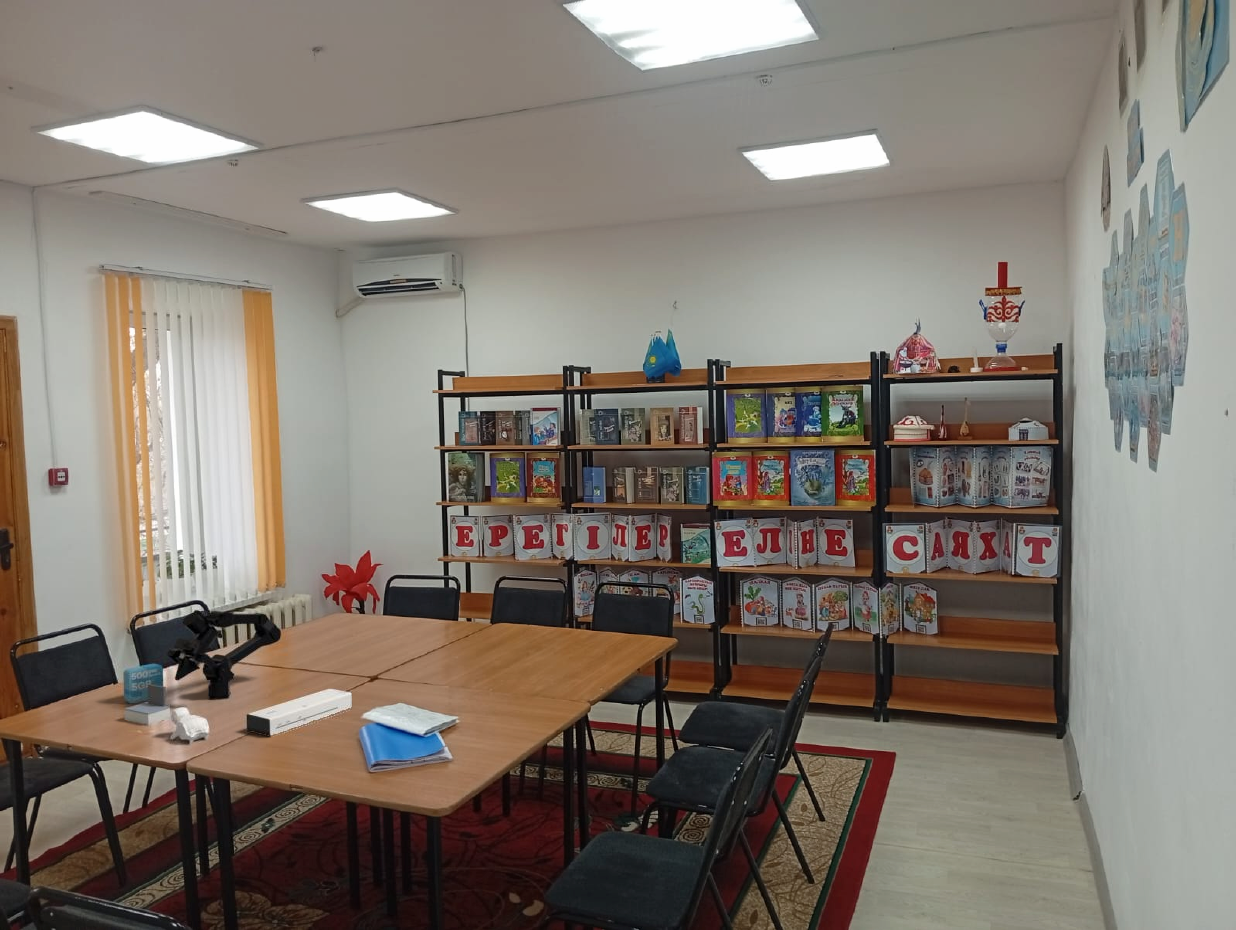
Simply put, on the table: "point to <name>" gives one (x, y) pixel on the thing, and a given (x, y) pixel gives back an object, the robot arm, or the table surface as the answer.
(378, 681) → the table surface
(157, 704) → the carton lid
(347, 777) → the table surface
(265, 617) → the robot arm
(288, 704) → the laminator
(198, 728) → the white animal figurine
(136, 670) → the data package
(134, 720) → the carton
